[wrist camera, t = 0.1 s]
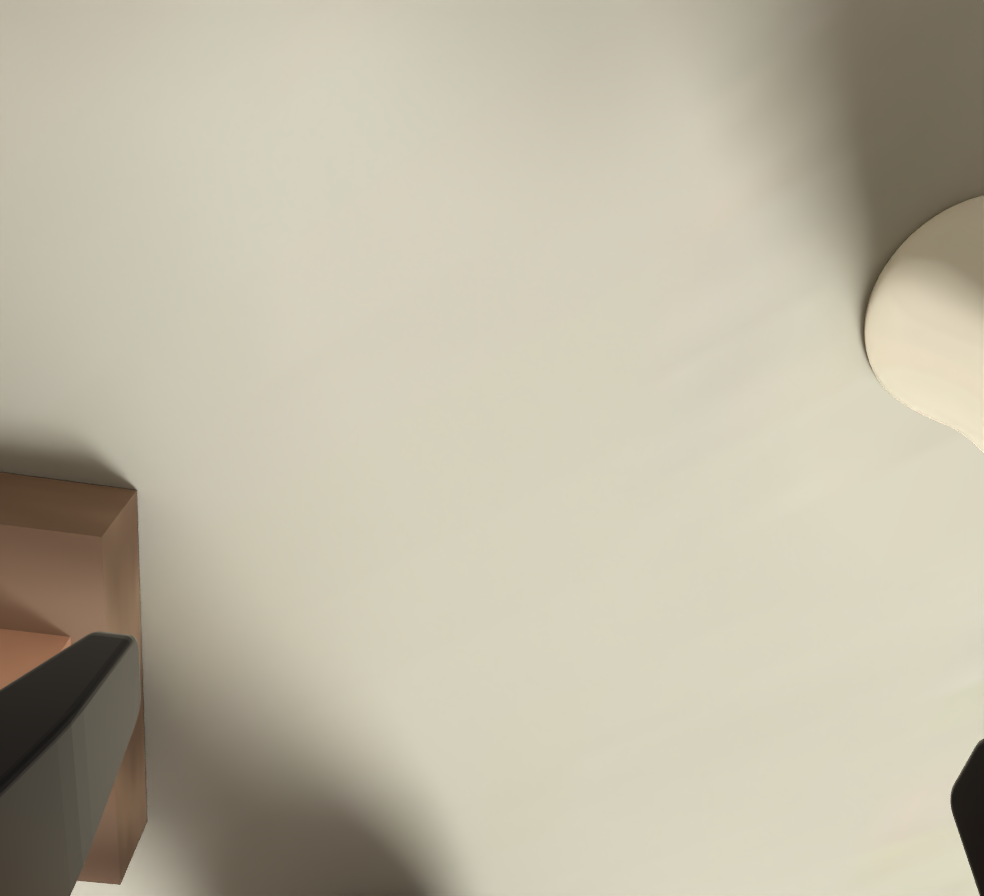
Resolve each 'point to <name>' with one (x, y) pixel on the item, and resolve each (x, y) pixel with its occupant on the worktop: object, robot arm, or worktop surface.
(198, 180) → the worktop surface
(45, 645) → the terracotta tile
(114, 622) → the walnut ledge
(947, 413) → the beer glass
